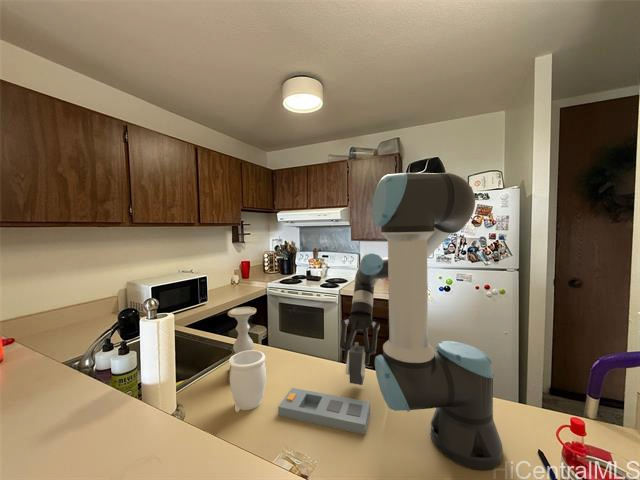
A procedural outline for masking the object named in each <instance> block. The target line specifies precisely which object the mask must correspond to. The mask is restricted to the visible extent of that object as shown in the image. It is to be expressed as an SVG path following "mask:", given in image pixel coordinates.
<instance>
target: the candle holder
mask: <svg viewBox="0 0 640 480" xmlns="http://www.w3.org/2000/svg"><path fill="white" fill-rule="evenodd" d="M256 313H257V308H255V307H252V306H241V307H240V306H239V307H235V308H232V309H230V310H228V312H227V316H229V317H230V318H234V319H235V320H236V321H237V325H236V327H235V330H236V332H237V333H238V335H237V337H236V340H235V341H234V344H233V347H232V348H233V349H232V350H233V351H234V353H235V354H237V353H239V352H242V351H247V350H254V347H255V346H254V345H255V344H254V341H253V339H252V338H251V337H250V335H249V334H248V332H249V330H250V328H251V325H250V324H249V323H248V321H249V319H250V317H251V316H252V315H255V314H256ZM230 371H231V366H230V365H229V369H228V376H227V384H228V385H230Z"/></svg>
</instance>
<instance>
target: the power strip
mask: <svg viewBox="0 0 640 480" xmlns="http://www.w3.org/2000/svg"><path fill="white" fill-rule="evenodd" d="M277 408H278V410H277V413H278V416H279V417H283V418H287V419H291V420H296V421H297V420H298V421H301V422H307V423H311V424H314V425H320V426H325V427H329V428H333V429H337V430H343V431H347V432H349V433H350V432H352V433H357V434H360V435H367V434H366V433H367V427H368V425H369V424H368V423H369V418H370V413H371V412H370V411H371V402H370V401H368V400H363V399H362V400H361V399H358V398H352V397H346V396H340V395H334V394H328V393H323V392H318V391H317V392H316V391H313V390H307V389H306V390H305V389H301V388H295V387H291V388H290V389H289V391H288V393H287V394H285V397H284V398H283V399H282V400H281V402H280V403H279V405H278V407H277Z"/></svg>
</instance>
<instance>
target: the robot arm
mask: <svg viewBox="0 0 640 480" xmlns="http://www.w3.org/2000/svg"><path fill="white" fill-rule="evenodd" d="M475 206H476V195H475V193H474V190H473V188H472V187H471V184H469V183H468V181H466V179H464V178H463V177H461V176H459V175H457V174H456V173H455V174H454V173H451V172H450V173H449V172H439V173H438V172H437V173H433V172H432V173H431V172H429V173H428V172H400V173H390V174H386V175H384V176H383V177H382V178H381V179H380V180H379V182H378V183H377V185H376V188H375V191H374V194H373V197H372V206H371V207H372V208H371V214H372V222H373V224H374V225H375V226H378V227H380V235H382V236H383V237H384V238H385V239H386V241H387V257H382V256H381V255H380V254H378V253H375V252H368V253H365V254H364V255H363V256H362V258H361V259H360V262H359V265H358V266H359V267H358V269H357V270H356V274H355V278H354V287H353V293H352V300H351V301H352V302H351V303H352V304H351V310H350V315H349V317H348V319H341V321H340V322H341V333H340V343H339V347H340V349H341V351H344V354H343V355H344V356H343V362H345V363H346V364H345V374H346V375H348V376H349V351H350V348H351V346H352V345H353V344H354V340H355V337H356V334H357V332H361V333H362V335H363V343H364V352H363V356H362V367H361V376H362V377H364V376H366V375H365V374H366V373H365V372H366V366H369V365H370V356H371V355H375V354H376V353H377V352H376V351H377V345H378V344H377V342H378V333H379V331H380V328H381V326H380V322H376V321H373V320H374V319H373V306H374V293H375V285H376V283H377V281H378V280H388V283H387V284H388V331H389V332H388V333H389V334H388V336H389V337H388V340H386V341H385V342H384V343H383V344H382V354H378V355H376V356H375V358H374V367H375V369H374V370H375V374H376V378H377V379H376V380H377V383H378V387H379V389H380V392H381V396H382V399H383V401H384V402H385V404H386V406H388V408H389V409H390V410H391V411H395V412H401V411H404V412H405V411H406V412H410V411H417V410H427V409H429V410H430V409H435V410H434V413H433V416H432V418H431V419H430V438H431V440H432V442H433V444H434V446H435V447H436V448H437V449H438V450H439V452H441V454H443V455H444V456H445V457H446V458H448V459H449V460H451V461H452V462H454V463H456V464H458V465H460V466H462V467H465V468H468V469H470V470H471V469H472V470H477V471H488V470H489V471H490V470H494V469H495V468H497V467H498V466H500V465H501V463H502V461H503V455H504V454H503V449H504V448H503V444H502V439H501V437H500V434H499V431H498V429H497V427H496V424H495V421H494V414H493V413H494V395H493V392H494V388H493V387H494V377H495V376H494V372H493V363H492V359H491V357H489V355H488V354H486V352H484V351H483V350H481V349H479V348H476V347H475V346H473V345H470V344H468V343H467V344H466V343H463V342H460V341H453V340H441V341H439V342H438V343H437V344H436V347H435V348H436V350H435V349H434V348H433V346H432V345H430V343H429V331H428V330H429V328H428V327H429V324H428V322H429V319H428V317H429V315H428V314H429V313H428V312H429V310H428V306H429V305H428V303H429V302H428V258H429V257H430V256H431V255H432V254H433V253H434V252H435V251H436V250H437V249H438V248H439V247H440V246H441V245H442V244H443V243H444V241H446V240H447V238H448V237H449V236H450V235H451V234H453V235H454V234H456V233H458V232H459V231H461V230H462V229H463V228H464V227H465V226H466V225H467V223H468V222H470V220H471V218H472V216H473V214H474V211H475V209H476V208H475ZM349 324H350V326H351V329H350V332H349V335H348V338H347V330H348V329H347V327H348V326H349ZM371 326H372V339H371V348H370V343H369V336H368V335H369V334H368V330H369V329H370V328H371ZM364 378H365V377H364Z"/></svg>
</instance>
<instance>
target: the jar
mask: <svg viewBox="0 0 640 480" xmlns="http://www.w3.org/2000/svg"><path fill="white" fill-rule="evenodd" d="M265 361H266V354H265V352H264V351H260V350H256V349H252V350H247V351H242V352H239V353H235V354H234V355H232V356H230V358H229V361H228V363H229V367H230V366H231V371H230V384H229V386H230V390H231V396H232V399H233V401H234V403H235V405H234V411H235V413H238V412H239V411H241V410H243V411H248V410H252V409H255V408H257V407H259V406H260V405H261V403H262V401H263V398H264V395H265V392H266V391H265V390H266V382H267V369H266V363H265Z"/></svg>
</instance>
